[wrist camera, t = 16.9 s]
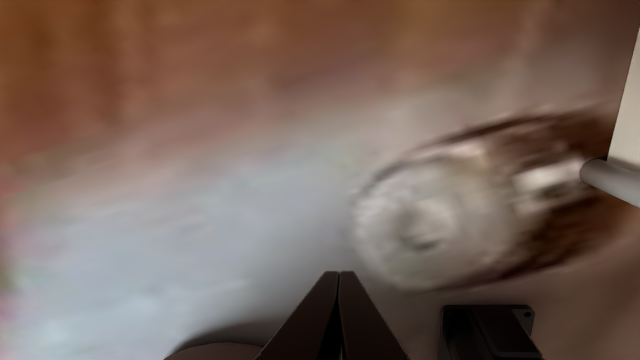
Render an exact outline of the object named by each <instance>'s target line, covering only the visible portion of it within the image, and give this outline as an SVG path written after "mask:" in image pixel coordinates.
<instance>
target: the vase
mask: <svg viewBox="0 0 640 360" xmlns="http://www.w3.org/2000/svg"><path fill="white" fill-rule="evenodd" d="M263 348H264V347H260V346H257V345H249V344H240V343H232V342H231V343H211V344H206V345H200V346H195V347H190V348H187V349H185V350H182V351H180V352H178V353H175V354H173V355H171V356H169V357H167V358H165V359H164V360H254V359H255V358H256V356H257V355H260V352H261V350H262V349H263Z"/></svg>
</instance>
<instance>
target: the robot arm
mask: <svg viewBox="0 0 640 360" xmlns="http://www.w3.org/2000/svg"><path fill="white" fill-rule="evenodd" d="M448 312H450V313H448ZM525 312H526V313H525ZM534 316H535V313H534V311H533V310H532V308H531V307H530V306H527V305H447V306H444V307H443V308H442V313H441V329H440V345H439V360H544V358H543V357H542V353H541V352H540V350H539V349H538V348H537V346H536V345H535V343H534V342H533V340H532V339H531V337H530V336H531V331H532V326H533V321H534ZM341 349H342V359H343V360H411V359H410V358H408V355H407V353H406V351H405V350H404V348H403V347H402V345H401V344H400V342H399V340H398V339H397V337H396V336H395V334H394V333H393V331H392V330H391V328H390V326H389V325H388V323H387V322H386V320H385V319H384V317H383V315H382V314H381V312H380V311H379V309H378V308H377V306H376V305H375V303H374V301H373V300H372V298H371V297H370V295H369V294H368V292H367V290H366V289H365V287H364V286H363V284H362V283H361V281H360V280H359V278H358V276H357V275H356V273H355V272H354V271H341V272H340V273H339V272H338V271H326V272H325V273H324V274H323V275H322V276H321V277H320V279H319V280H318V281H317V282H316V284H315V285H314V286H313V287H312V289H311V290H310V291H309V292H308V294H307V295H306V296H305V297H304V298H303V300H302V301H301V302H300V303H299V305H298V306H297V307H296V308H295V310H294V311H293V312H292V313H291V315H290V316H289V317H288V318H287V319H286V321H285V322H284V323H283V324H282V326H281V327H280V328H279V329H278V331H277V332H276V333H275V334H274V336H273V337H272V338H271V339H270V340H269V342H268V343H267V344H266V345H265V347H264V348H263V349H262V350H261V352H260V355H257V356H256V358H255V359H254V360H341Z"/></svg>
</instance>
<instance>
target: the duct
mask: <svg viewBox="0 0 640 360" xmlns="http://www.w3.org/2000/svg"><path fill="white" fill-rule="evenodd" d="M580 178H581V180H582V181H583V182H585V183H587V184H590V185H592V186H594V187H596V188H598V189H600V190H603V191H605V192H607V193H609V194H611V195H613V196H615V197H618V198H620V199H622V200H624V201H626V202H628V203H631V204H633V205H635V206H637V207H639V208H640V28H639V32H638V36H637V40H636V44H635V48H634V52H633V56H632V60H631V64H630V69H629V73H628V77H627V81H626V85H625V89H624V93H623V97H622V101H621V105H620V109H619V113H618V117H617V121H616V125H615V129H614V133H613V138H612V142H611V146H610V150H609V154H608V158H607V161H604V160H601V159H594V160H591V161H588V162H587V163H585V164H584V165H583V166H582V168H581V170H580Z"/></svg>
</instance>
